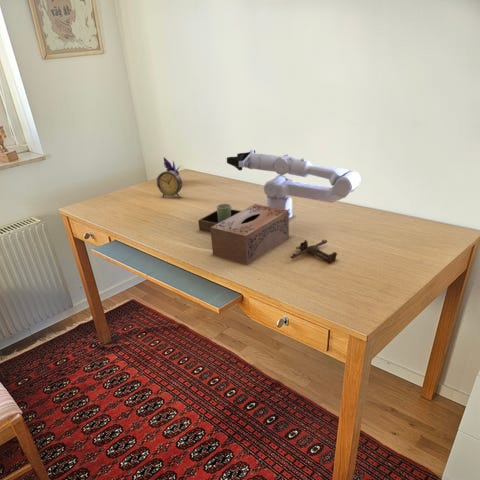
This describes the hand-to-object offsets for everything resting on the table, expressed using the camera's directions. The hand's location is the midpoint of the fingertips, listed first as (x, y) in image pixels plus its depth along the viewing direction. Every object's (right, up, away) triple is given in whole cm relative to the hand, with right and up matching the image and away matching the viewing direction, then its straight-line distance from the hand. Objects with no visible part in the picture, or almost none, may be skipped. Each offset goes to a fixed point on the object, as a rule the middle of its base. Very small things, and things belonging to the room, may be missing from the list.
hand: (232, 158), depth 175 cm
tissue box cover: (+7, -38, -19) cm, 43 cm away
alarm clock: (-29, -7, +32) cm, 43 cm away
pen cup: (-3, -28, -4) cm, 28 cm away
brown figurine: (+28, -43, -28) cm, 58 cm away
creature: (-33, +6, +51) cm, 61 cm away
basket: (-2, -28, -4) cm, 28 cm away
